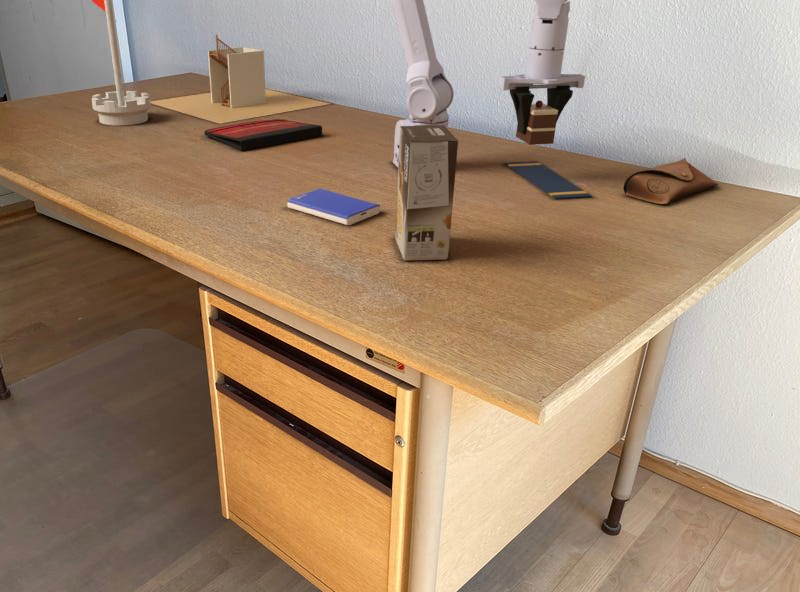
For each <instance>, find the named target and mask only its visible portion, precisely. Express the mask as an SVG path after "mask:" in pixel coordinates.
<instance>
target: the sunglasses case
mask: <svg viewBox="0 0 800 592" xmlns="http://www.w3.org/2000/svg"><path fill="white" fill-rule="evenodd" d="M717 186H719V184H718V182H716V181H715V180H714V179H712V178H710V177H709V175H706V173H704V172H702V171H700V170H699V169H698V168H696V166H694V165H692V164H691V163H690V162H688V161H687V158H686V157H684V158H682V159H680V160H678V161H673V162H670V163H666V164H661V165H658V166H654V167H652V168H649V169H644V170H639V171H636V172H634V173H632V174H631V175H629V176H628V177H627V178H626V180H624V183H623V188H622V189H623V192H624V194H625V196H627V197H631V198H633V199H635V200H638V201H642V202H646V203H651V204H656V205H668V204H670V203H672V202H674V201H677V200H680V199H683V198H686V197H688V196H692V195H696V194H699V193H702V192H704V191H707V190H711V189H712V188H715V187H717Z"/></svg>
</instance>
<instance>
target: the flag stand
mask: <svg viewBox="0 0 800 592" xmlns="http://www.w3.org/2000/svg"><path fill="white" fill-rule="evenodd" d="M91 2H92V3H93V4H95V5H96V6H97V7H98V8H100V9H101V10H102V11H104V12H105V14H106V15H105V17H106V23H107V24H106V25H107V31H108V38H109V46H110V53H111V60H112V69H113V76H114V84H115V90H116V91H115V90H114V91H106V92H105V93H104V94H105V97H102V94H100V93H96V94H94V95H92V97H91V104H92V105H91V106H92V110H94V111H95V112H96V113H97V114H98V121H99V123H100V124H103V125H106V126H133V125H138V124H143V123H145V122H147V121H149V115H148V110H149V109H150V108H151V106H152V104H151V102H150V101H151V98H150V94H149V93H147V92H141V93H140V95H141V96H139V95H138V91H137V90H135V91H134V90H126V91H125V94H126V95H125V94H124V86H123V79H122V71H121V70H122V69H121V63H120V56H119V55H120V54H119V48H118V40H117V32H116V25H115V18H114V17H115V16H114V10H113V1H112V0H91Z"/></svg>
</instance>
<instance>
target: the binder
mask: <svg viewBox="0 0 800 592" xmlns="http://www.w3.org/2000/svg"><path fill="white" fill-rule="evenodd" d="M203 133H204V136H207V137H208V138H212V139H214V140H217V141H219V142H222V143H223V144H227V145H228V146H230V147H232V148H234V149H236V150H238V151H242V152H243V151H248V150H253V149H258V148H263V147H264V148H265V147H268V146H274V145H280V144H285V143H289V142H296V141H300V140H306V139H311V138H315V137H321V136H322V135H323V126H322V125H320V124H316V123H315V124H313V123H306V122H300V121H293V120H288V119H283V118H282V119H280V118H278V119H264V120H254V121H248V122H241V123H235V124H228V125H224V126H218V127H213V128H209V129H205V130H204V131H203Z"/></svg>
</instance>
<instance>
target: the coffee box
mask: <svg viewBox="0 0 800 592" xmlns="http://www.w3.org/2000/svg"><path fill="white" fill-rule="evenodd" d="M458 149H459V140H458V139H457V137H455V135H454V134H452V132H451V131H450V130H449V128H448V129H447V128H446V127H445V126H444V125H415V126H400V141H399V162H398V167H397V168H398V169H397V189H396V191H397V192H396V196H397V197H396V214H395V233H394V234H395V236H394V239H395V242H396V244H397V247H398V250H399V252H400V254H401V256H402V259H403V260H404V261H407V262H409V261H437V260H438V261H439V260H440V261H441V260H442V261H444V260H448V258H449V252H450V251H449V249H450V241H451V229H452V227H451V226H452V217H453V216H452V215H453V206H454V205H453V204H454V194H455V184H456V174H457V173H456V171H457V160H458Z"/></svg>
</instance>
